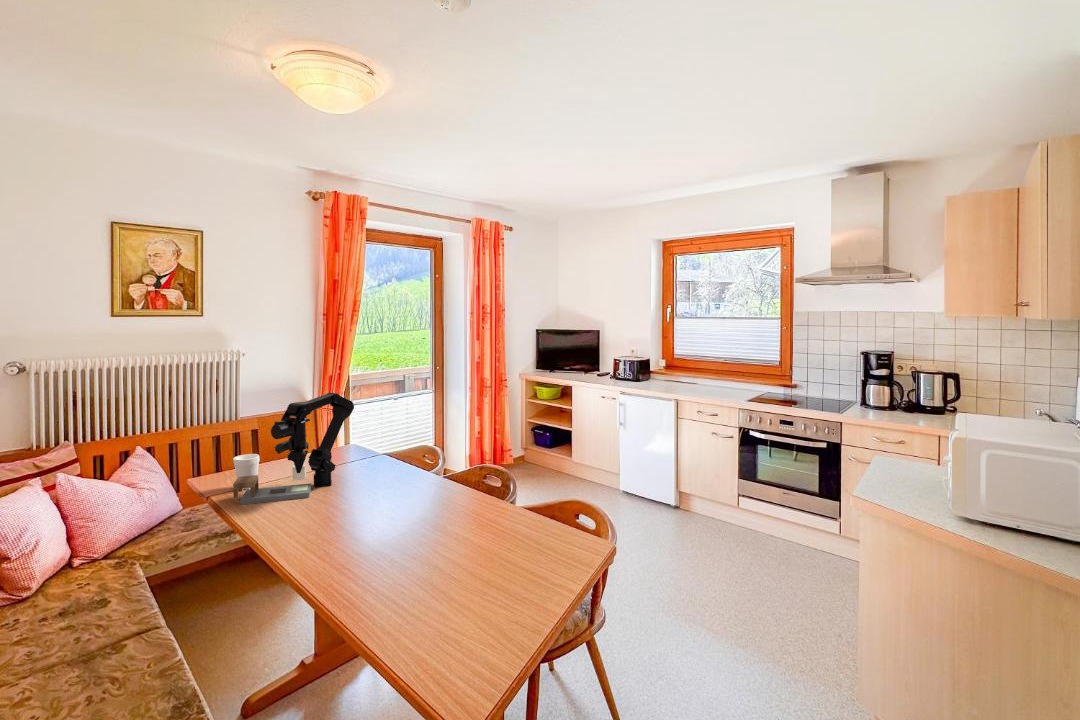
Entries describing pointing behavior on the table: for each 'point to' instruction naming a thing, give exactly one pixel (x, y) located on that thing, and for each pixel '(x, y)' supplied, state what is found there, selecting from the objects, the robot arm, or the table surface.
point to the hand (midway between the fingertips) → (299, 471)
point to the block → (299, 475)
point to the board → (277, 493)
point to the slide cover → (245, 485)
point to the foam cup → (246, 465)
